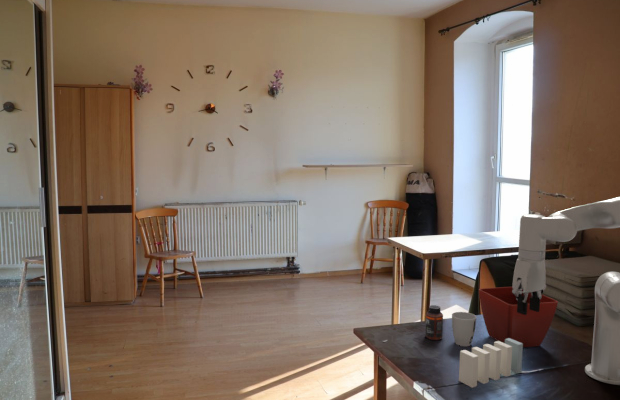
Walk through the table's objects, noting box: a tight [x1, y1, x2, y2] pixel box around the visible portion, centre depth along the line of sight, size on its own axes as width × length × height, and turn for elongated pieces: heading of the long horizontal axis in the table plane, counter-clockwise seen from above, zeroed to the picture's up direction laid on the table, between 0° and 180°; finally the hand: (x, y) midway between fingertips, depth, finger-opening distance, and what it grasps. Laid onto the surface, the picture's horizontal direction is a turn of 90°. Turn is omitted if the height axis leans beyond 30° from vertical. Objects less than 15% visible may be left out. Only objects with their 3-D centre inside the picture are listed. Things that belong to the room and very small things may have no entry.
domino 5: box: [505, 338, 524, 374], centre depth 156 cm, size 5×2×9 cm, turn 29°
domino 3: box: [482, 343, 501, 381], centre depth 152 cm, size 5×2×9 cm, turn 30°
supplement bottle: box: [425, 304, 444, 341], centre depth 181 cm, size 6×6×11 cm
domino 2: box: [471, 346, 490, 385], centre depth 149 cm, size 5×2×9 cm, turn 30°
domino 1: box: [458, 349, 478, 388], centre depth 147 cm, size 5×2×9 cm, turn 30°
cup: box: [451, 311, 477, 347], centre depth 176 cm, size 8×8×10 cm
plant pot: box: [478, 286, 559, 348], centre depth 179 cm, size 19×19×17 cm
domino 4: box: [493, 340, 512, 378], centre depth 154 cm, size 5×2×9 cm, turn 30°
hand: (528, 311), depth 158 cm, fingers open, 5 cm apart
